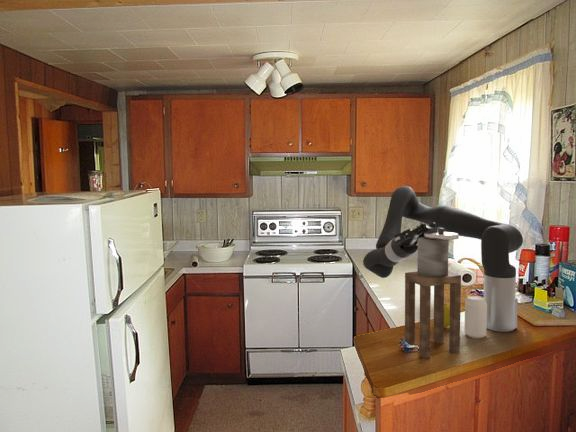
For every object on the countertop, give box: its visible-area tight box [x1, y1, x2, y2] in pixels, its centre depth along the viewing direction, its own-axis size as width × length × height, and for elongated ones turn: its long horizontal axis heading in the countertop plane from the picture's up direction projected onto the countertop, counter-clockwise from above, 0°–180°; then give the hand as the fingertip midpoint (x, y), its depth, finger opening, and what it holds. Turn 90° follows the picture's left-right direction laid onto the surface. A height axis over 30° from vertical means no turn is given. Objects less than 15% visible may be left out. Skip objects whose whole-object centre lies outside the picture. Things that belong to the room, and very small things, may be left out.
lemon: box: [444, 303, 450, 329], centre depth 146 cm, size 6×6×8 cm
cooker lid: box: [416, 225, 460, 241], centre depth 129 cm, size 9×14×3 cm, turn 19°
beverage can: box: [464, 295, 488, 339], centre depth 138 cm, size 6×6×12 cm
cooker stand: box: [404, 237, 462, 359], centre depth 128 cm, size 12×9×32 cm
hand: (430, 225), depth 131 cm, fingers closed on cooker lid, 3 cm apart
